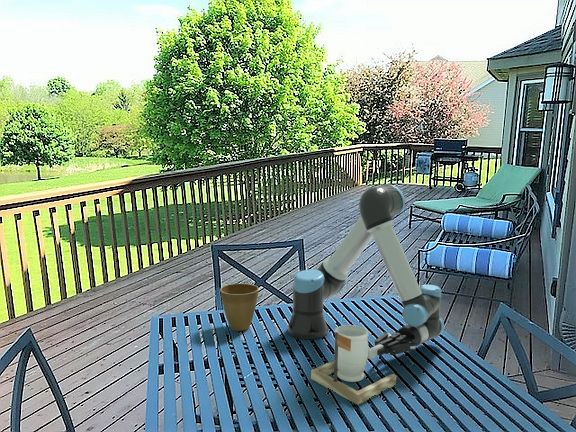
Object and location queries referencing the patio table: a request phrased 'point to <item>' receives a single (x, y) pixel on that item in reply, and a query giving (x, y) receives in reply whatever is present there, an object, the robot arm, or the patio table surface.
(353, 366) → the jar
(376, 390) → the box
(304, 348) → the patio table surface
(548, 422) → the patio table surface
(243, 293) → the plant pot
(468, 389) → the patio table surface
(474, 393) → the patio table surface
